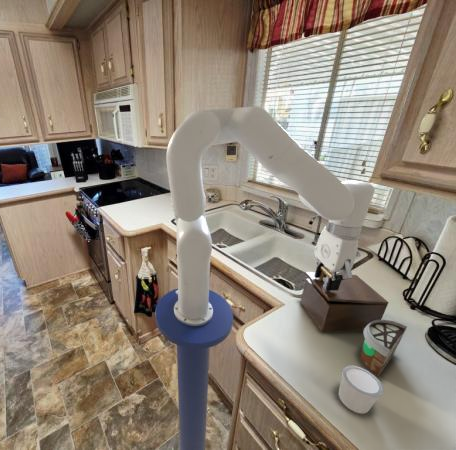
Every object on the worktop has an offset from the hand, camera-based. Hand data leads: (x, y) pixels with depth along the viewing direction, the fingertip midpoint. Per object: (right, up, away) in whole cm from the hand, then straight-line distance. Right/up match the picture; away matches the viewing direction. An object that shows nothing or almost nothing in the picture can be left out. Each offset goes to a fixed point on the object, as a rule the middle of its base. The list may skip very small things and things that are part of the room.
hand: (325, 282), depth 73 cm
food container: (+6, -18, -8) cm, 21 cm away
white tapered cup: (-6, -23, -17) cm, 29 cm away
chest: (+7, -11, +5) cm, 14 cm away
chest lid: (+5, -2, +1) cm, 6 cm away
